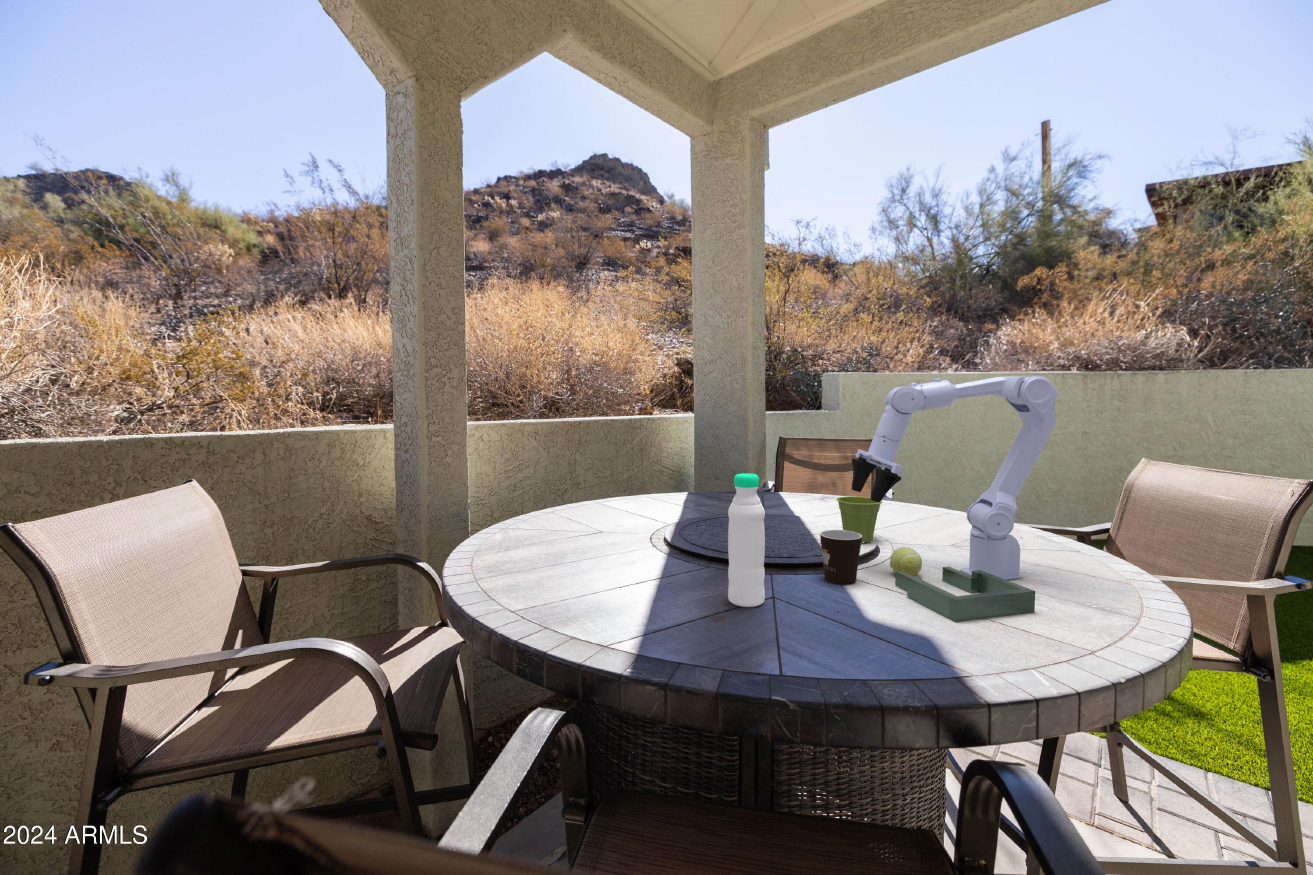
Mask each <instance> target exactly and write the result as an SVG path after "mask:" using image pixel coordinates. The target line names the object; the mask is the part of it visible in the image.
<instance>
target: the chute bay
mask: <svg viewBox="0 0 1313 875" xmlns="http://www.w3.org/2000/svg"><path fill="white" fill-rule="evenodd" d="M894 573H895V572H894ZM894 575H895V576H894V577H895V578H894V580H895V584H894V586H895V587H897V588H900V589H902V590H903V591H905V592H906V596H907V598H908V599H910V600H912V601H914V602H916V603H918V604H920V605H922V606H924V607H926V608H927V609H930V610H931V611H933V612H935V613H938V614H939V615H941V616H943V617H946V618H947V619H949V620H951V621H952V622H955V623H958V622H966V621H974V620H983V619H989V618H999V617H1007V616H1008V617H1009V616H1014V615H1015V616H1017V615H1023V614H1031V613H1033V614H1034V613H1035V609H1036V607H1035V606H1036V605H1035V604H1036V590H1033V589H1031V588H1028V587H1026V586H1023V585H1020V584H1018V583H1016V582H1013V581H1010V580H1009V579H1007V580H1005V579H1002V578H1000V577H997V576H995V575H992V574H989V573H987V572H984V571H981V570H975V571H972V576H971V575H969V574H966V573H964V572H961V571H960V569H956V568H953V567H952V566H942V576H941V577H942V579H941V580H942V582H944V583H946V584H949V585H951V586H953V587H956V588H958V589H960V590H963V591H964V592H967V593H969V594H963V595H956V594H953V593H951V592H948V591H947V590H944V589H942V588H940V587H938V586H936V585H934V584H931V583H930V582H927V581H925V580H923V579H922V578H921V577H919V576H916V575H915V576H912V575H910V574H908V573H905V572H903V571H896V573H895V574H894Z"/></svg>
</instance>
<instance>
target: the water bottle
mask: <svg viewBox="0 0 1313 875" xmlns="http://www.w3.org/2000/svg"><path fill="white" fill-rule="evenodd" d="M759 484H760V477H759V476H758V474H756V473H747V472H746V473H738V474H735V475H734V477H733V485H734V488H735V490H736V491H735V492H736V493H735V494H734V496H733V498H732V502H731V503H730V505H729V507H728V511H727V515H728V528H727V530H728V533H727V548H728V549H727V551H728V554H727V556H728V569H727V570H728V571H727V575H728V588H727V597H728V601H729V602H730V603H731V604H732V605H734V606H737V607H741V608H754V607H759V606H760V605H762V604H764V602H765V599H766V595H765V594H766V590H765V576H766V575H765V573H766V572H765V566H764V565H765V553H766V552H765V550H766V546H765V545H766V535H765V534H766V532H765V520H764V519H765V518H766V517H765V516H766V512H765V511H766V510H765V508H764V506H763V504H762V502H761V499H760V497H759V495H758V492H757V491H758V489H759Z"/></svg>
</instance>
